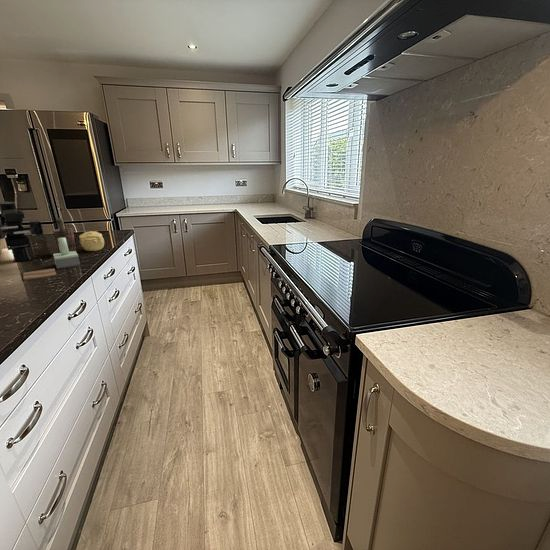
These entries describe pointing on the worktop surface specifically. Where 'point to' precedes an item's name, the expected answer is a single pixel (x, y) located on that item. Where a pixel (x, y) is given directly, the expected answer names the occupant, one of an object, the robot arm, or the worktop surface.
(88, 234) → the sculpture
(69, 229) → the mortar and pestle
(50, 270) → the walnut board
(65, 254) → the lid
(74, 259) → the storage box
